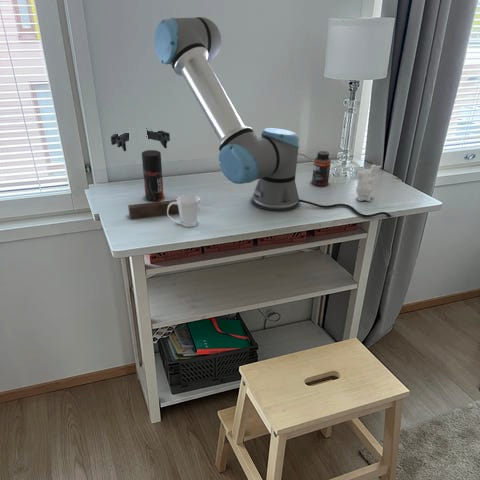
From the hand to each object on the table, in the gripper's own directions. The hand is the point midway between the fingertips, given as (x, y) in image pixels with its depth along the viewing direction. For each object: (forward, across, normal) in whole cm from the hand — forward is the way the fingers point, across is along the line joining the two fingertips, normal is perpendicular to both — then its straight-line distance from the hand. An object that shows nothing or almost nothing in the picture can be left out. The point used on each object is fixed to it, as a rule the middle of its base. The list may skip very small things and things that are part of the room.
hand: (145, 145), depth 162 cm
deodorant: (+10, 0, -15) cm, 18 cm away
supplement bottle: (+12, -61, -14) cm, 64 cm away
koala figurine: (+30, -68, -14) cm, 76 cm away
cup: (+32, -4, -14) cm, 35 cm away
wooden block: (+23, 0, -14) cm, 27 cm away
